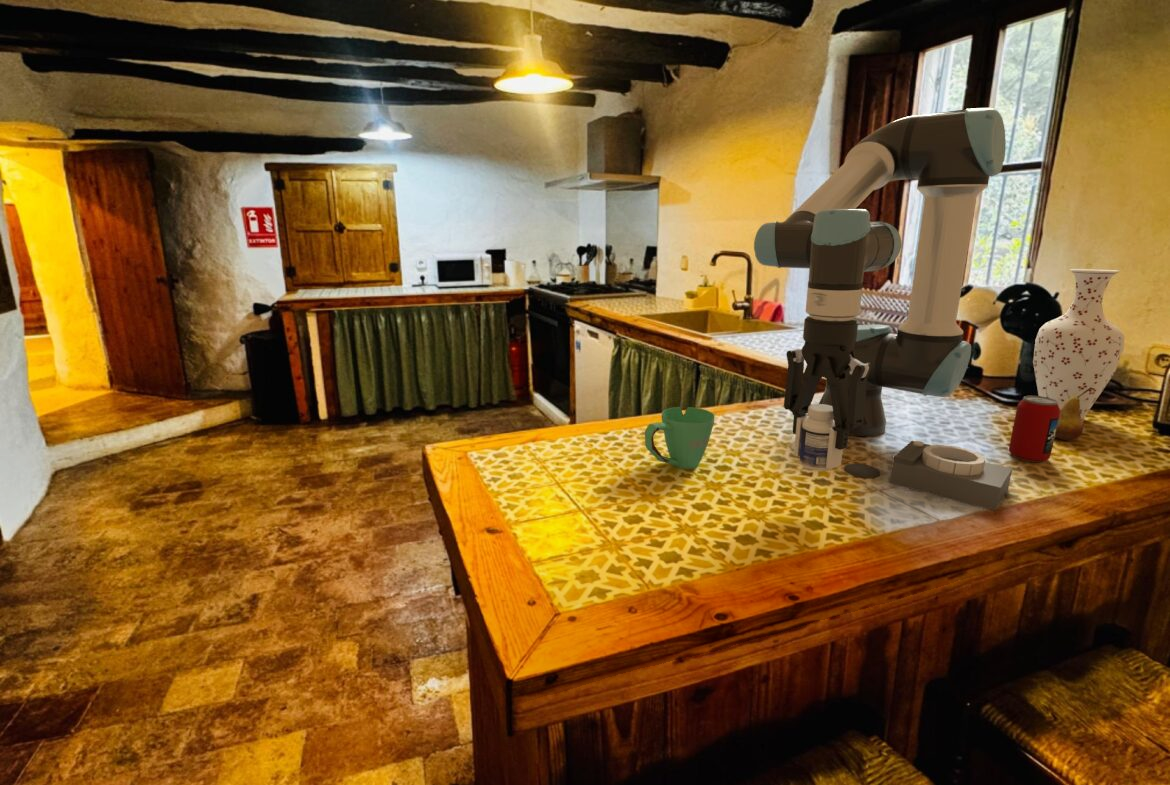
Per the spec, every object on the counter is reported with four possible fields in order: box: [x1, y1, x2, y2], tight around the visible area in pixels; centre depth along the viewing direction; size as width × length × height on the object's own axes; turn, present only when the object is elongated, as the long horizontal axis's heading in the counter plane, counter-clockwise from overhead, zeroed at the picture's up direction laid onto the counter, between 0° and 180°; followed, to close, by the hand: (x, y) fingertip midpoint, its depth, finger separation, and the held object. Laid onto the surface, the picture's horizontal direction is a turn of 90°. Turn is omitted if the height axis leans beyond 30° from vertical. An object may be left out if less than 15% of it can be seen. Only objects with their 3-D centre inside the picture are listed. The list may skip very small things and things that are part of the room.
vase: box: [1032, 268, 1125, 422], centre depth 140 cm, size 16×16×35 cm
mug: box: [644, 406, 715, 470], centre depth 112 cm, size 15×10×10 cm
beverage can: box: [1008, 395, 1060, 463], centre depth 118 cm, size 7×7×12 cm
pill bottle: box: [798, 403, 835, 472], centre depth 95 cm, size 5×5×10 cm
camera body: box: [889, 440, 1013, 512], centre depth 105 cm, size 16×11×6 cm
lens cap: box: [843, 463, 881, 479], centre depth 112 cm, size 6×6×1 cm
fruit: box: [1055, 387, 1092, 442], centre depth 128 cm, size 6×6×12 cm
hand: (816, 459), depth 96 cm, fingers closed on pill bottle, 5 cm apart
